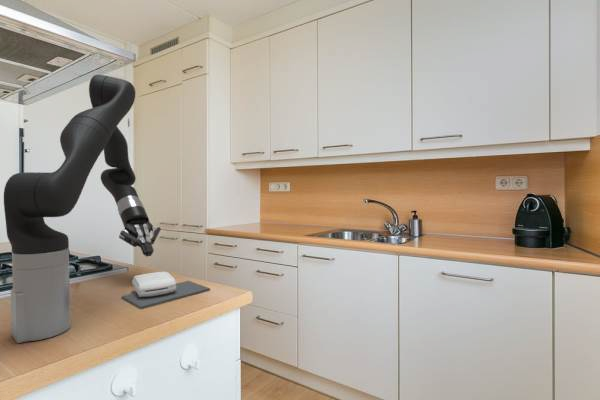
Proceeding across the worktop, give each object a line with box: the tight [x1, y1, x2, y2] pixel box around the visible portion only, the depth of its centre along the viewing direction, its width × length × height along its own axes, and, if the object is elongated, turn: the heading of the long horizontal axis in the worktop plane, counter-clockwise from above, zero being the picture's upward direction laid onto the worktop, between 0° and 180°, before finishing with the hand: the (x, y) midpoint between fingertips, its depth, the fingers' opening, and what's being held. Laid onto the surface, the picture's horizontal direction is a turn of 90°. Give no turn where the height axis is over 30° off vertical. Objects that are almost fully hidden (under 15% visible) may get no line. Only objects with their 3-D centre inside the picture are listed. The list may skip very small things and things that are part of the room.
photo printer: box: [131, 271, 177, 297], centre depth 93 cm, size 10×4×12 cm
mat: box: [121, 280, 211, 310], centre depth 93 cm, size 20×12×1 cm, turn 139°
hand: (149, 254), depth 100 cm, fingers closed
